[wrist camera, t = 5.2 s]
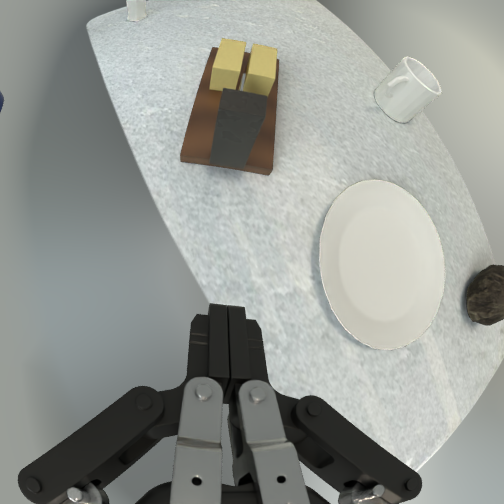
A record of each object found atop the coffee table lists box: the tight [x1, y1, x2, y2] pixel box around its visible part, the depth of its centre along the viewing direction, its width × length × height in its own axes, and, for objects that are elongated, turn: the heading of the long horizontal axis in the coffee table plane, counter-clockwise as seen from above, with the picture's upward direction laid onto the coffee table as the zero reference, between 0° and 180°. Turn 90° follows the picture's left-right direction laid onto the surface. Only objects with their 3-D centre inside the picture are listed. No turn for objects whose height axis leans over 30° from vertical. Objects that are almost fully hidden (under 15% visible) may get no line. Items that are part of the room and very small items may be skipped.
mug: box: [374, 57, 442, 123], centre depth 33 cm, size 8×12×10 cm, turn 118°
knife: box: [209, 73, 267, 169], centre depth 24 cm, size 10×4×9 cm, turn 175°
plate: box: [319, 179, 445, 350], centre depth 30 cm, size 21×21×2 cm
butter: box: [209, 38, 277, 97], centre depth 29 cm, size 7×7×4 cm
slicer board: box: [180, 47, 279, 175], centre depth 31 cm, size 20×10×2 cm, turn 175°
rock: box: [467, 265, 504, 325], centre depth 31 cm, size 10×11×10 cm
